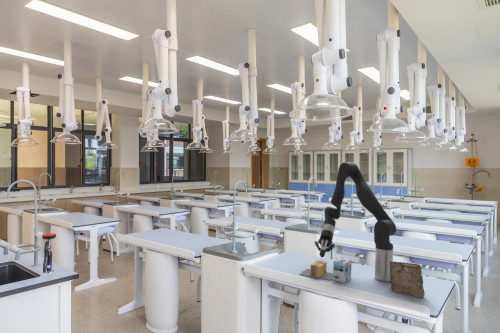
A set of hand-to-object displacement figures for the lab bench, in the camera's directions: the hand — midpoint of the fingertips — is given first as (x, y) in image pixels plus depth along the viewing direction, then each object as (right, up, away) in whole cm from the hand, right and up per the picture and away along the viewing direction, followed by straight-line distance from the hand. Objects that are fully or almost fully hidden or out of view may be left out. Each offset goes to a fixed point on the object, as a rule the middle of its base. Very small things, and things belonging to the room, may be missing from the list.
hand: (321, 256), depth 195 cm
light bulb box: (+8, -9, -14) cm, 19 cm away
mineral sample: (+35, -10, -32) cm, 48 cm away
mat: (-4, -9, -6) cm, 11 cm away
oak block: (0, -6, 0) cm, 6 cm away
